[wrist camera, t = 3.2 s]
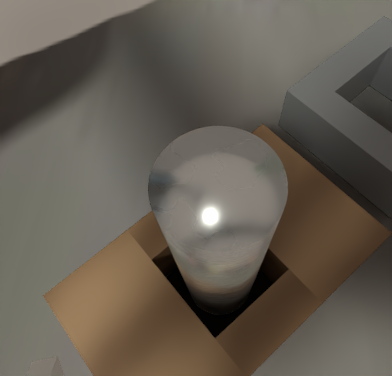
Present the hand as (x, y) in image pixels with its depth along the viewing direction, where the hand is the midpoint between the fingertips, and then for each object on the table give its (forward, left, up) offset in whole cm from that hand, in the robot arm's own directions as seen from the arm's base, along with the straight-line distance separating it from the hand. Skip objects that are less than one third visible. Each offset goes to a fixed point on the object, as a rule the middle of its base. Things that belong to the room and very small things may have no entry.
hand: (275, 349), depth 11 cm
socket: (-6, +23, -17) cm, 30 cm away
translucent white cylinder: (-5, +2, -17) cm, 18 cm away
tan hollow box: (-5, +2, -17) cm, 18 cm away
